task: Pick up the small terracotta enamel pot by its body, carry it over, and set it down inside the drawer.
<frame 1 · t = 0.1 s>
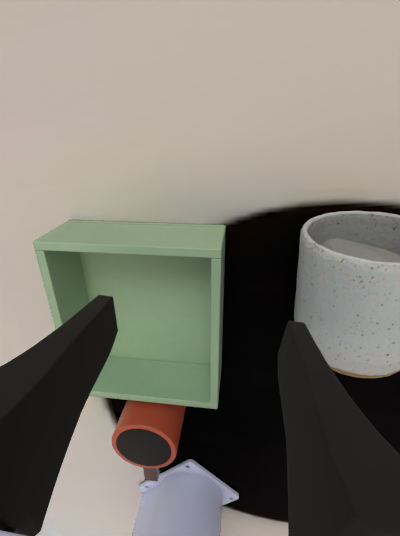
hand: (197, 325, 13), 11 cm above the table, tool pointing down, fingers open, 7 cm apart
pot: (160, 392, 30), on the table
ceramic mug: (362, 260, 22), on the table
drawer: (152, 299, 25), on the table
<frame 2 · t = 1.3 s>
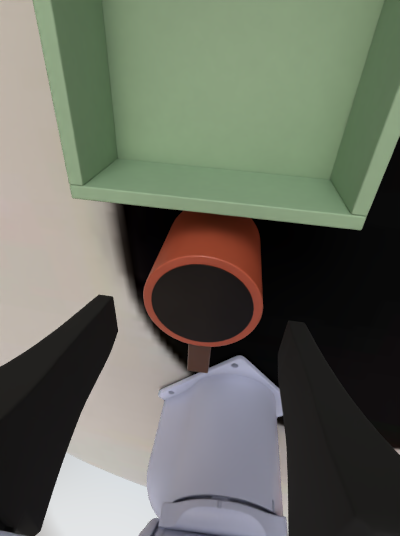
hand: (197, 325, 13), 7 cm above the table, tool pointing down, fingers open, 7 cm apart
pot: (214, 243, 18), on the table
drawer: (236, 12, 12), on the table
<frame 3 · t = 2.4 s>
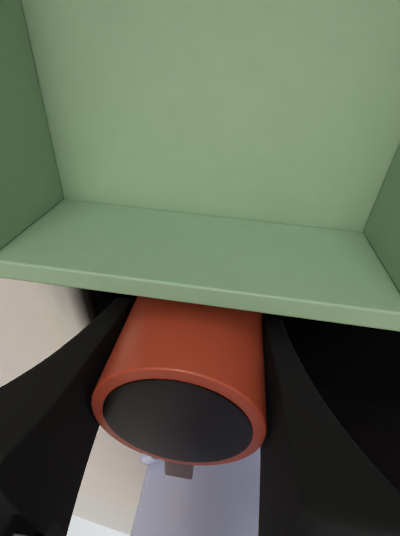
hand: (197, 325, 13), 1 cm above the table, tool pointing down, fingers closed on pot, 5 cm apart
pot: (201, 302, 14), on the table, touching gripper
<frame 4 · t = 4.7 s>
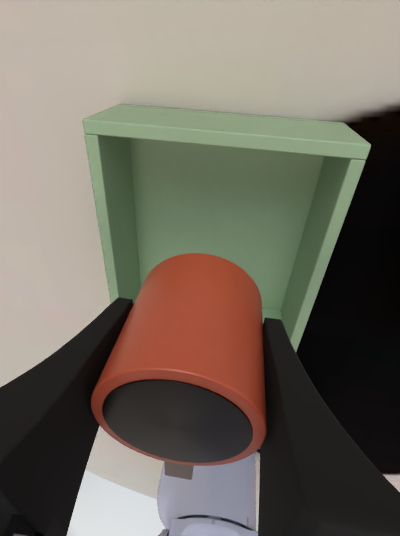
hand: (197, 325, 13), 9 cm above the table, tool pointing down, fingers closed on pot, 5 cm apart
pot: (200, 302, 14), point 7 cm above the table, touching gripper
drawer: (217, 225, 20), on the table
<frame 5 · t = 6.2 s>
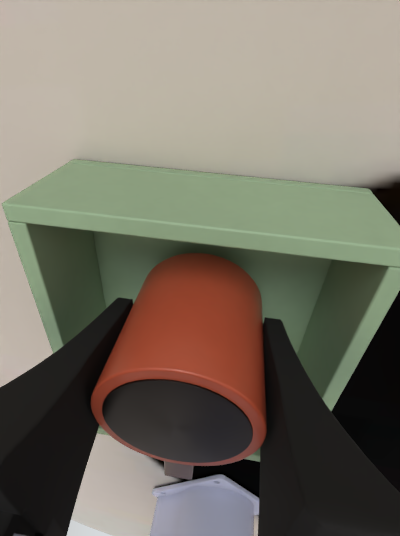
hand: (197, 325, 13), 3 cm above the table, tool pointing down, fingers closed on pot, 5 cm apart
pot: (200, 302, 14), point 2 cm above the table, touching gripper
drawer: (204, 299, 16), on the table
when the fingers open (2 cm above the table, at t = 7.1 s): pot stays where it is, resting on drawer.
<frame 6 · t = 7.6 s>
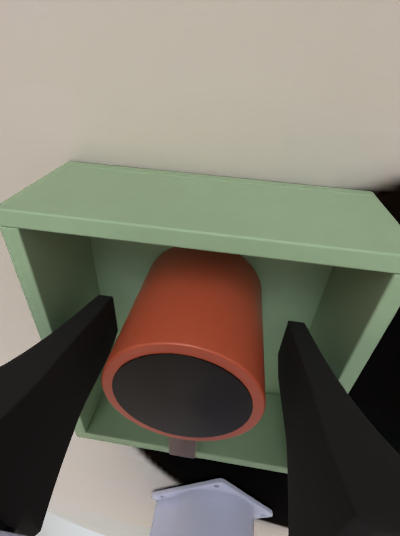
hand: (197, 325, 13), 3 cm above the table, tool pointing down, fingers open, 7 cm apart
pot: (203, 290, 15), resting on drawer
drawer: (204, 303, 16), on the table
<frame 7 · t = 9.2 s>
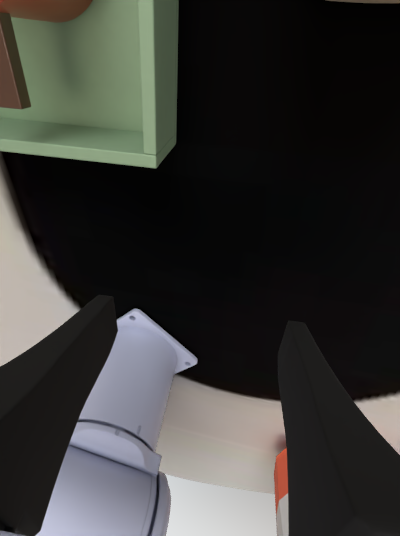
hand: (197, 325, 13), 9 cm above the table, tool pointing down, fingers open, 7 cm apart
french fries container: (323, 444, 35), on the table
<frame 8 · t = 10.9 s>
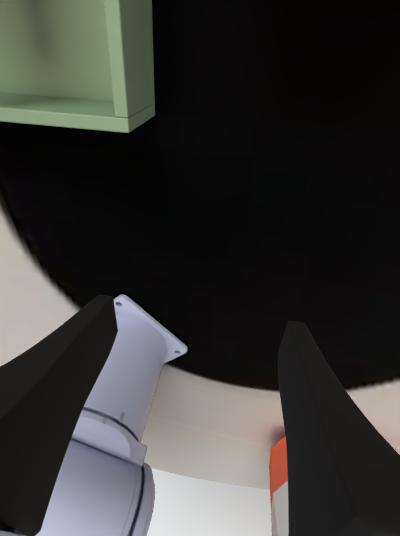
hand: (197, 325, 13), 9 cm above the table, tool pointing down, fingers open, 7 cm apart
french fries container: (319, 436, 34), on the table
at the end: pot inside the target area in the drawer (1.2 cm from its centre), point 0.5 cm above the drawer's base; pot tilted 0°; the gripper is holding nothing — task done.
